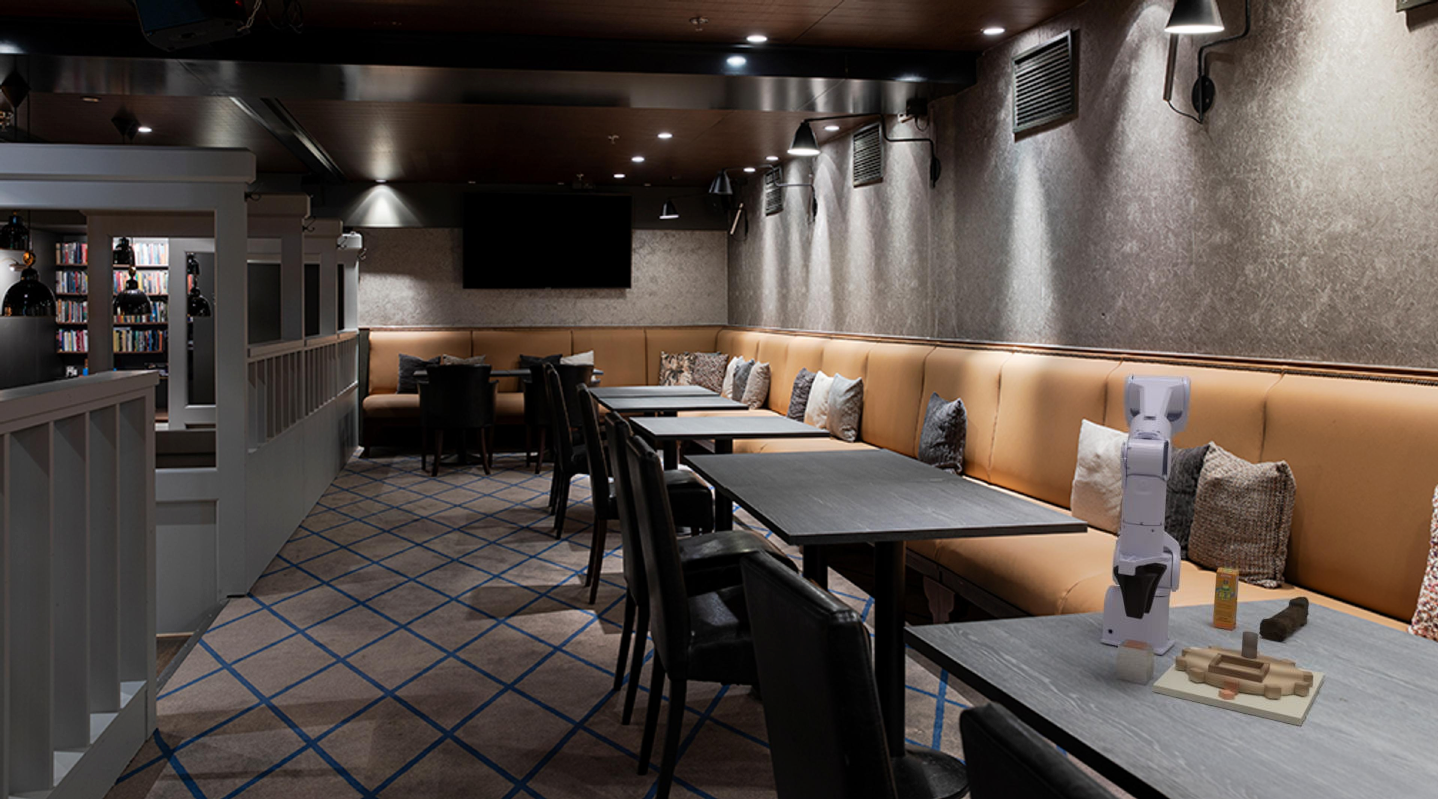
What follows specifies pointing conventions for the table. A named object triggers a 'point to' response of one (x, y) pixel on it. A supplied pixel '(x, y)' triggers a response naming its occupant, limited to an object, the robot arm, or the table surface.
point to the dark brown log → (1285, 620)
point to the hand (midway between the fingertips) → (1138, 614)
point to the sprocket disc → (1245, 670)
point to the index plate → (1240, 696)
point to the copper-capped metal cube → (1135, 661)
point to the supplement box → (1225, 598)
